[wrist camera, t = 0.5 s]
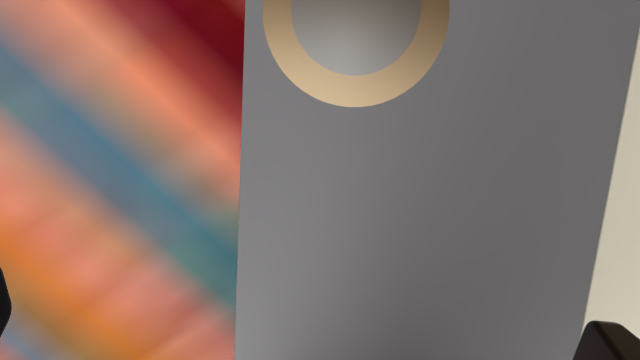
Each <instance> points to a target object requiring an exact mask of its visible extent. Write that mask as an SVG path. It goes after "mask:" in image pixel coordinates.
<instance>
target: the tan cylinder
mask: <svg viewBox="0 0 640 360" xmlns="http://www.w3.org/2000/svg"><path fill="white" fill-rule="evenodd" d="M449 12H450V3H449V0H263V24H264V30H265V35H266V39H267V42H268V45H269V48H270V50H271V52H272V55H273V57H274V59H275V60H276V62H277V64H278V66H279V67H280V68H281V70H282V71H283V72H284V74H285V75H286V76H287V77H288V78H289V79H290V80H291V81H292V82H293V83H294V84H295V85H296V86H297V87H299V88H300V89H301V90H302V91H304V92H305V93H307V94H309V95H310V96H312V97H314V98H316V99H318V100H321V101H323V102H326V103H329V104H333V105H337V106H344V107H365V106H372V105H376V104H380V103H384V102H386V101H388V100H391V99H393V98H395V97H397V96H399V95H401V94H402V93H404V92H406V91H407V90H408V89H410V88H411V87H412V86H414V85H415V84H416V83H417V82H418V81H419V80H420V79H421V78H422V77H423V76H424V75H425V74H426V73H427V71H428V70H429V69H430V68H431V66H432V65H433V63H434V61H435V60H436V58H437V57H438V55H439V52H440V50H441V48H442V46H443V43H444V40H445V37H446V34H447V29H448V23H449Z"/></svg>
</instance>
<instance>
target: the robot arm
mask: <svg viewBox="0 0 640 360" xmlns="http://www.w3.org/2000/svg"><path fill="white" fill-rule="evenodd" d="M10 315H11V300H10V297H9V293H8V289H7V286H6V282H5V279H4V275H3V272H2V269H1V268H0V337H1V335H2V333H3V331H4V329H5V327H6V325H7V323H8V320H9V318H10ZM573 360H640V339H639V338H638V337H636V336H635V335H634V334H633V333H631V332H630V331H629V330H628V329H626V328H625V327H624V326H622V325H621V324H619V323H616V322H608V321H597V320H593V321H590V322H589V323H588V324H587V325H586V326H585V328H584V331H583V334H582V336H581V339H580V341H579V344H578V346H577V349H576V351H575V354H574V357H573Z"/></svg>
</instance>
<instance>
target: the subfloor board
mask: <svg viewBox="0 0 640 360" xmlns="http://www.w3.org/2000/svg"><path fill="white" fill-rule="evenodd" d="M449 3H450V12H449V23H448V29H447V34H446V37H445V40H444V43H443V46H442V48H441V50H440V52H439V55H438V57H437V58H436V60H435V61H434V63H433V65H432V66H431V68H430V69H429V70H428V71H427V73H426V74H425V75H424V76H423V77H422V78H421V79H420V80H419V81H418V82H417V83H416V84H415V85H414V86H412V87H411V88H410V89H408V90H407V91H406V92H404V93H402V94H401V95H399V96H397V97H395V98H393V99H391V100H388V101H386V102H384V103H380V104H376V105H372V106H365V107H344V106H337V105H333V104H329V103H326V102H323V101H321V100H318V99H316V98H314V97H312V96H310V95H309V94H307V93H305V92H304V91H302V90H301V89H300V88H299V87H297V86H296V85H295V84H294V83H293V82H292V81H291V80H290V79H289V78H288V77H287V76H286V75H285V74H284V72H283V71H282V70H281V68H280V67H279V66H278V64H277V62H276V60H275V59H274V57H273V55H272V52H271V50H270V48H269V45H268V42H267V39H266V35H265V30H264V24H263V0H246V3H245V35H244V67H243V100H242V132H241V164H240V196H239V228H238V260H237V293H236V325H235V357H234V360H573V357H574V354H575V351H576V349H577V346H578V344H579V341H580V339H581V336H582V334H583V331H584V328H585V326H586V325H587V324H588V323H589V322H590V321H593V320H597V321H608V322H616V323H619V324H621V325H622V326H624V327H625V328H626V329H628V330H629V331H630V332H631V333H633V334H634V335H635V336H636V337H638V338H639V339H640V0H449Z"/></svg>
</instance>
